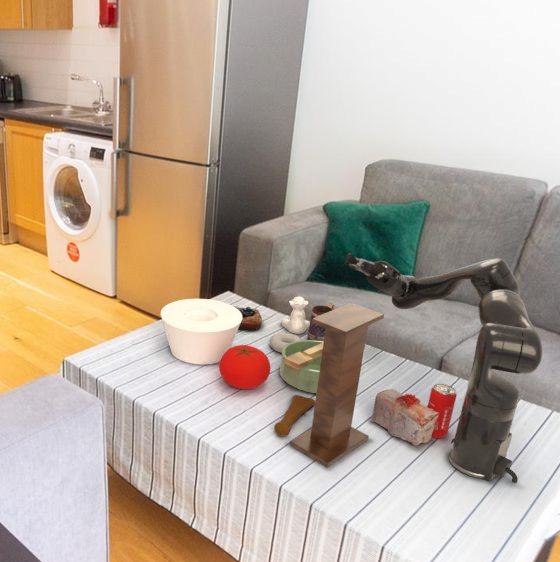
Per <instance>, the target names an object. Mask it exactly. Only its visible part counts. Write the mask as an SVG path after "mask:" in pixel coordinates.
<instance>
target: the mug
mask: <svg viewBox="0 0 560 562" xmlns="http://www.w3.org/2000/svg"><path fill="white" fill-rule="evenodd" d="M335 307H336V306H335V305H334V304H333V303H332V302H328V303H327V304H326V305H315V306H313V307H312V309H311V315H310V320H309V321H310V326H309V327H308V329H307V337H306V340H316V341H323V342H324V336H325V329H326V328H324V327H321V326H319V325H316V324H314V323H312V319H313V318H315V317H318V316H320V315H322V314H325V313H327V312H330V311H332V310H334V309H336V308H335Z"/></svg>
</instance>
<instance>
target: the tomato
mask: <svg viewBox="0 0 560 562" xmlns="http://www.w3.org/2000/svg"><path fill="white" fill-rule="evenodd" d="M218 363H219V364H218V368H219V369H218V370H219V373H220V375H221V378H222V379H223V380H224V382H225V383H226V384H227V385H229V386H230V387H232V388H235V389H239V390H251V389H254V388H258V387H259V386H261V385H263V384H264V383H265V382H266V381H267V380H268V378H269V376H270V374H271V362H270V360H269V357H268V356H267V355H266V353H265V352H264V351H262V350H261V349H259V348H257V347H255V346H252V345H247V344H239V345H234V346H231V348H230V349H228V350H227V351H226V352H225V353H224V354H223V356H222V358H221V360H220V362H218Z"/></svg>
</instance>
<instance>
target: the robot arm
mask: <svg viewBox="0 0 560 562" xmlns="http://www.w3.org/2000/svg"><path fill="white" fill-rule="evenodd" d="M344 264H345V265H346V266H348V267H349V268H351V269H353V270H354V271H359V272H361V273H362V274H364V275H365V278H366V280H367V282H368V283H369V284H370V285H372V286H373V287H375V288H376V289H377V290H379V291H381V292H384V293H385V294H387V296H390V297H391V303H392V305H393V306H394V307H395V308H396V309H399V310H410V309H413V308H415V307H418V306H421V305H422V304H424V303H426V302H429V301H438V300H439V301H440V300H444V299H446V298H449V297H450V296H452V294H453V293H455V291H456V290H457V289H458V288H459V287H460V285H461V284H462V283H463V282H465V280H469V281H470V284H472V287H473V288H474V290H475V292H476V293H477V295H478V297H479V299H480V301H479V303H478V307H477V308H478V318H479V321H480V324H481V325H482V327H481V328H480V330H479V332H478V335H477V339H476V345H475V351H474V356H473V361H472V367H471V371H470V376H469V379H468V383H467V387H466V391H465V395H464V397H463V398H464V399H463V403H462V406H461V410H460V414H459V419H458V422H457V426H456V431H455V434H454V438H452V439H451V441H450V445H451V444H452V447H451V450H450V454H449V462H450V464H451V465H452V466H453V468H455V469H456V470H458V471H459V472H460V473H463V474H465V475H467V476H469V477H472V478H477V479H481V480H482V479H483V480H486V481H487V482H491V481H493V479H494V478H496V477H497V476H498V477H500V478H502V477H504V476H505V475H506V474H508V475H509V476H511V482H512V483H513V484H517V483H518V480H519V478H518V475H517V473H516V472H514V471H513V469H511V466H512V463H513V460H511V459H509V458H507V454H508V451H509V447H510V443H511V440H512V436H513V433H512V432H510V431H511V429H512V424H513V422H514V418H515V415H516V412H517V407H518V404H519V401H520V396H521V393H520V390H519V388H518V387H517V386H516V385H515V384H514V383H513V382H511V381H510V380H507V379H506V378H504V377H502V376H501V375H498V374H497V373H496V372H494V371H493V370H495V371H499V372H505V373H510V374H515V375H531V374H532V373H534V372H535V371H537V370H538V369H539V367H540V365H541V364H542V360H543V352H544V350H543V349H544V348H543V342H542V337H541V336H540V333H539V332H538V329H536V328H535V326H534V325H533V323H532V322H531V320H530V318H529V315H528V311H527V309H526V305H525V303H524V300H523V298H521V296H520V294H521V293H520V291H521V290H520V285H519V282H518V280H517V279H516V277H515V275H514V274H513V272H512V269H511V268H510V267H509V265H508V263H507V262H506V260H504V259H502V258H499V257H498V258H497V257H496V258H488V259H485V260H481V261H478V262H475V263H472V264H469V265H465V266H462V267H459V268H456V269H453V270H451V271H448V272H445V273H442V274H435V275H431V276H425V277H420V278H418V279H417V277H415V276H413V275H408V274H402V273H401V272H400V271H399V270H398V269H397V268H395V267H394V266H392V265H391V264H390V263H389V262H387V261H385V260H376V261H374V262H373V261H369V260H368V259H365V258H358V257H357V256H354V255H353V254H352V253H347V254H346V256H345V258H344Z"/></svg>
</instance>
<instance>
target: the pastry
mask: <svg viewBox="0 0 560 562" xmlns="http://www.w3.org/2000/svg"><path fill="white" fill-rule="evenodd" d="M232 306H233V307H235V308H237V309H238V310H239V311H240V312H241V314H242V321H241V323H240V326H239V328H238V331H246V332H257V331H259V330H260V329H261V328H262V323H263V319H262V315H261V313H260V310H259V309H256V308H251V307H250V306H247V307H239V306H235V305H232Z"/></svg>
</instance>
